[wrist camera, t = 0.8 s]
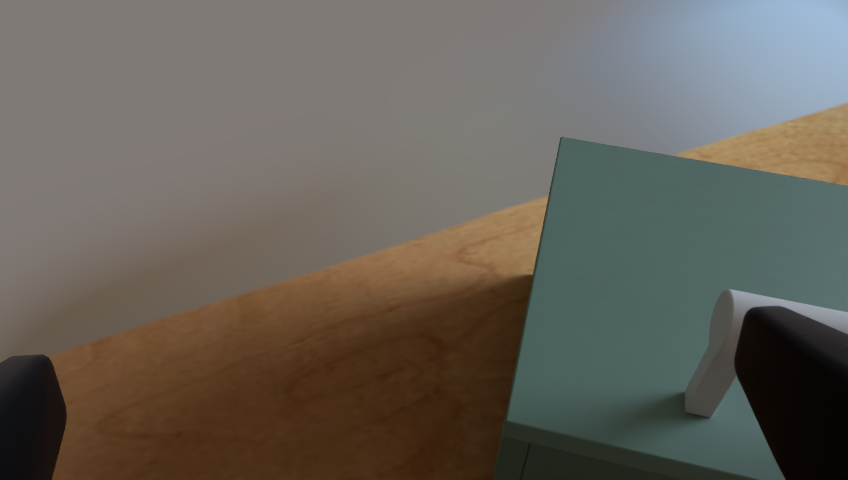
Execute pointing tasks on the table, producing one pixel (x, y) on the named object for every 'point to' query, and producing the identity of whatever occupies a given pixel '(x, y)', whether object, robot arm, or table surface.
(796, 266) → the bin lid
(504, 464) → the bin
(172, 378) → the table surface
